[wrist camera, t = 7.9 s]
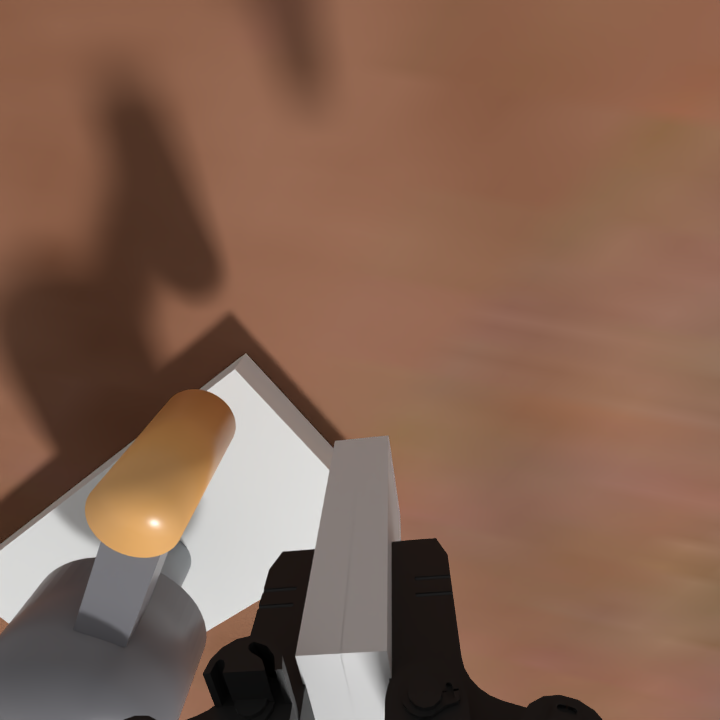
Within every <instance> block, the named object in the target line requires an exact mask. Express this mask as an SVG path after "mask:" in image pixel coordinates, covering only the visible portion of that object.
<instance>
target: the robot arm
mask: <svg viewBox="0 0 720 720" xmlns="http://www.w3.org/2000/svg"><path fill="white" fill-rule="evenodd" d="M203 676H204V678H205V681H206V684H207V686H208V689H209V692H210V694H211V697H212V699H213V702H214V705H215V706H213V707H212V708H211V709H209V710H208V711H206V712H204V713H202V714H200V715H198V716H195V717H193V718H190V719H187V720H602V719H601V717H600V716H599V715H598V714H597V713H596V712H595V711H594V710H593V709H591V708H590V707H588V706H587V705H585V704H584V703H582V702H580V701H579V700H576V699H573V698H569V697H566V696H562V695H553V696H543V697H541V698H539V699H537V700H536V701H534V702H532V703H530V704H529V705H528V707H527V708H526V707H522V706H519V705H515V704H512V703H508V702H505V701H502V700H499V699H497V698H495V697H492V696H490V695H488V694H487V693H486V692H484V691H483V690H481V689H480V688H479V687H478V686H477V685H476V684H475V683H474V682H473V681H472V680H471V679H470V677H469V675H468V674H467V672H466V670H465V668H464V665H463V661H462V658H461V651H460V643H459V636H458V629H457V621H456V614H455V607H454V599H453V592H452V585H451V578H450V570H449V563H448V555H447V553H446V552H445V551H444V549H443V548H442V546H441V545H440V544H439V542H438V541H437V539H436V538H433V539H420V540H407V541H401V530H400V511H399V504H398V497H397V490H396V484H395V477H394V470H393V463H392V456H391V449H390V442H389V436H380V437H369V438H359V439H349V440H339V441H335V443H334V449H333V454H332V460H331V465H330V470H329V476H328V481H327V487H326V492H325V497H324V503H323V508H322V514H321V519H320V524H319V530H318V535H317V541H316V546H315V549H309V550H296V551H283V552H282V553H281V554H280V556H279V557H278V558H277V560H276V561H275V562H274V564H273V565H272V566H271V567H270V569H269V572H268V575H267V579H266V582H265V586H264V593H262V596H261V600H260V603H259V609H258V610H257V614H256V618H255V621H254V625H253V628H252V632H251V635H250V636H248V637H244V638H239V639H236V640H235V641H233V642H231V643H229V644H228V645H226V646H224V647H222V648H221V649H220V650H219V651H218V652H217V653H216V654H215V655H214V656H213V657H212V658H211V660H210V661H209V663H208V665H207V667H206V669H205V671H204V672H203ZM124 720H156V719H154V718H152V717H151V716H132V717H130V718H127V719H124Z"/></svg>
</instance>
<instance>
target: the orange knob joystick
mask: <svg viewBox="0 0 720 720" xmlns="http://www.w3.org/2000/svg"><path fill="white" fill-rule="evenodd" d="M235 430H236V422H235V418H234V415H233V412H232V410H231V409H230V407H229V406H228V405H227V403H225V402H224V401H223V400H222V399H221V398H220V397H218V396H217V395H215V394H213V393H211V392H208V391H205V390H199V389H189V390H184V391H181V392H179V393H177V394H175V395H174V396H173V397H171V398H170V400H169V401H168V402H167V403H166V404H165V405H164V407H163V408H162V409H161V410H160V411H159V412H158V414H157V415H156V416H155V417H154V418H153V419H152V421H151V422H150V423H149V424H148V425H147V427H146V428H145V429H144V430H143V431H142V432H141V434H140V435H139V436H138V437H137V438H136V439H135V441H134V442H133V443H132V444H131V445H130V446H129V448H128V449H127V450H126V451H125V452H124V454H123V455H122V456H121V457H120V458H119V459H118V461H117V462H116V463H115V464H114V465H113V466H112V468H111V469H110V470H109V471H108V472H107V473H106V475H105V476H104V477H103V478H102V479H101V481H100V482H99V483H98V484H97V485H96V486H95V488H94V489H93V490H92V491H91V492H90V494H89V496H88V497H87V500H86V504H85V516H86V520H87V523H88V525H89V527H90V529H91V530H92V532H93V533H94V534H95V536H96V537H97V538H98V539H99V540H100V541H101V543H100V546H99V549H98V552H97V555H96V557H93V558H84V559H79V560H75V561H72V562H69V563H66V564H64V565H62V566H60V567H58V568H57V569H55V570H54V571H52V572H51V573H50V574H49V575H48V576H47V577H46V578H45V579H44V580H43V581H42V583H41V584H40V585H39V586H38V588H37V589H36V590H35V591H34V593H33V594H32V595H31V597H30V598H29V599H28V600H27V602H26V603H25V604H24V605H23V607H22V608H21V609H20V610H19V612H18V613H17V614H16V616H15V617H14V618H13V619H12V621H11V622H10V623H9V624H8V626H7V627H6V628H5V630H4V631H3V632H2V633H1V635H0V720H124V719H127V718H130V717H132V716H151V717H152V718H154V719H156V720H178V719H179V717H180V714H181V711H182V708H183V706H184V703H185V700H186V697H187V694H188V692H189V689H190V686H191V683H192V681H193V678H194V675H195V672H196V670H197V667H198V664H199V661H200V659H201V656H202V653H203V650H204V647H205V643H206V627H205V622H204V619H203V616H202V614H201V612H200V610H199V608H198V606H197V605H196V603H195V602H194V601H193V599H192V598H191V597H190V595H189V594H188V593H187V592H186V591H185V590H184V589H183V588H182V587H180V586H179V585H178V584H177V583H176V582H174V581H173V580H171V579H170V578H168V577H167V576H165V575H164V574H162V573H160V572H161V569H162V567H163V564H164V562H165V559H166V556H167V554H168V551H170V550H171V549H172V548H174V547H175V546H176V544H177V543H178V542H179V540H180V538H181V536H182V534H183V532H184V530H185V529H186V527H187V525H188V523H189V521H190V519H191V517H192V515H193V513H194V511H195V509H196V508H197V506H198V504H199V502H200V500H201V498H202V496H203V494H204V492H205V490H206V488H207V487H208V485H209V483H210V481H211V479H212V477H213V475H214V473H215V471H216V469H217V467H218V466H219V464H220V462H221V460H222V458H223V456H224V454H225V452H226V450H227V448H228V446H229V445H230V443H231V441H232V439H233V437H234V434H235Z"/></svg>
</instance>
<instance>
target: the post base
mask: <svg viewBox="0 0 720 720" xmlns="http://www.w3.org/2000/svg"><path fill="white" fill-rule="evenodd" d="M199 390H205V391H208V392H211V393H213V394H215V395H217V396H218V397H220V398H221V399H222V400H223V401H224V402H225V403H227V405H228V406H229V407H230V409H231V410H232V412H233V415H234V418H235V422H236V430H235V434H234V437H233V439H232V441H231V443H230V445H229V446H228V448H227V450H226V452H225V454H224V456H223V458H222V460H221V462H220V464H219V466H218V467H217V469H216V471H215V473H214V475H213V477H212V479H211V481H210V483H209V485H208V487H207V488H206V490H205V492H204V494H203V496H202V498H201V500H200V502H199V504H198V506H197V508H196V509H195V511H194V513H193V515H192V517H191V519H190V521H189V523H188V525H187V527H186V529H185V530H184V532H183V534H182V536H181V538H180V540H179V542H178V543H177V544H176V546H175V547H174V548H172V549H171V550H170V551H168V554H167V556H166V559H165V562H164V564H163V567H162V569H161V572H160V573H162V574H164V575H165V576H167V577H168V578H170V579H171V580H173V581H174V582H176V583H177V584H178V585H179V586H180V587H182V588H183V589H184V590H185V591H186V592H187V593H188V594H189V595H190V597H191V598H192V599H193V601H194V602H195V603H196V605H197V606H198V608H199V610H200V612H201V614H202V616H203V619H204V622H205V627H206V631H208V630H210V629H211V628H213V627H215V626H216V625H218V624H220V623H221V622H223V621H225V620H226V619H228V618H230V617H232V616H233V615H235V614H237V613H238V612H240V611H242V610H243V609H245V608H247V607H248V606H250V605H252V604H253V603H255V602H257V601H258V600H260V599H261V596H262V593H264V586H265V582H266V579H267V575H268V572H269V569H270V567H271V566H272V565H273V564H274V562H275V561H276V560H277V558H278V557H279V556H280V554H281V553H282V552H283V551H296V550H309V549H315V546H316V541H317V535H318V530H319V524H320V519H321V514H322V508H323V503H324V497H325V492H326V487H327V481H328V476H329V470H330V465H331V460H332V454H333V449H334V448H333V447H332V446H331V445H330V444H329V443H328V442H327V441H326V440H325V439H324V438H323V436H322V435H321V434H320V433H319V432H318V431H317V430H316V429H315V428H314V427H313V426H312V424H311V423H310V422H309V421H308V420H307V419H306V418H305V417H304V416H303V415H302V414H301V413H300V411H299V410H298V409H297V408H296V407H295V406H294V405H293V404H292V403H291V402H290V401H289V399H288V398H287V397H286V396H285V395H284V394H283V393H282V392H281V391H280V390H279V389H278V387H277V386H276V385H275V384H274V383H273V382H272V381H271V380H270V379H269V378H268V377H267V375H266V374H265V373H264V372H263V371H262V370H261V369H260V368H259V367H258V366H257V365H256V364H255V362H254V361H253V360H252V359H251V358H250V357H249V356H248V355H247V354H246V353H245V354H244V355H243V356H241V357H240V358H239V359H237V360H236V361H235V362H234V363H232V364H231V365H230V366H228V367H227V368H226V369H225V370H223V371H222V372H221V373H219V374H218V375H217V376H216V377H214V378H213V379H212V380H210V381H209V382H208V383H207V384H205V385H204V386H203V387H201V388H200V389H199ZM134 441H135V440H133V441H132V442H131V443H130V444H128V445H127V446H126V447H124V448H123V449H122V450H121V451H119V452H118V453H117V454H115V455H114V456H113V457H112V458H110V459H109V460H108V461H106V462H105V463H104V464H103V465H101V466H100V467H99V468H97V469H96V470H95V471H94V472H92V473H91V474H90V475H88V476H87V477H86V478H85V479H83V480H82V481H81V482H79V483H78V484H77V485H76V486H74V487H73V488H72V489H70V490H69V491H68V492H67V493H65V494H64V495H63V496H61V497H60V498H59V499H58V500H56V501H55V502H54V503H52V504H51V505H50V506H49V507H47V508H46V509H45V510H43V511H42V512H41V513H40V514H38V515H37V516H36V517H34V518H33V519H32V520H31V521H29V522H28V523H27V524H25V525H24V526H23V527H22V528H20V529H19V530H18V531H16V532H15V533H14V534H13V535H11V536H10V537H9V538H7V539H6V540H5V541H4V542H2V543H1V544H0V617H1V618H2V619H4V620H5V621H6V622H8V623H10V622H11V621H12V619H13V618H14V617H15V616H16V614H17V613H18V612H19V610H20V609H21V608H22V607H23V605H24V604H25V603H26V602H27V600H28V599H29V598H30V597H31V595H32V594H33V593H34V591H35V590H36V589H37V588H38V586H39V585H40V584H41V583H42V581H43V580H44V579H45V578H46V577H47V576H48V575H49V574H50V573H51V572H52V571H54V570H55V569H57V568H58V567H60V566H62V565H64V564H66V563H69V562H72V561H75V560H79V559H84V558H93V557H96V555H97V552H98V549H99V546H100V543H101V541H100V540H99V539H98V538H97V537H96V536H95V534H94V533H93V532H92V530H91V529H90V527H89V525H88V523H87V520H86V516H85V504H86V500H87V497H88V496H89V494H90V492H91V491H92V490H93V489H94V488H95V486H96V485H97V484H98V483H99V482H100V481H101V479H102V478H103V477H104V476H105V475H106V473H107V472H108V471H109V470H110V469H111V468H112V466H113V465H114V464H115V463H116V462H117V461H118V459H119V458H120V457H121V456H122V455H123V454H124V452H125V451H126V450H127V449H128V448H129V446H130V445H131V444H132V443H133V442H134Z"/></svg>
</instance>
